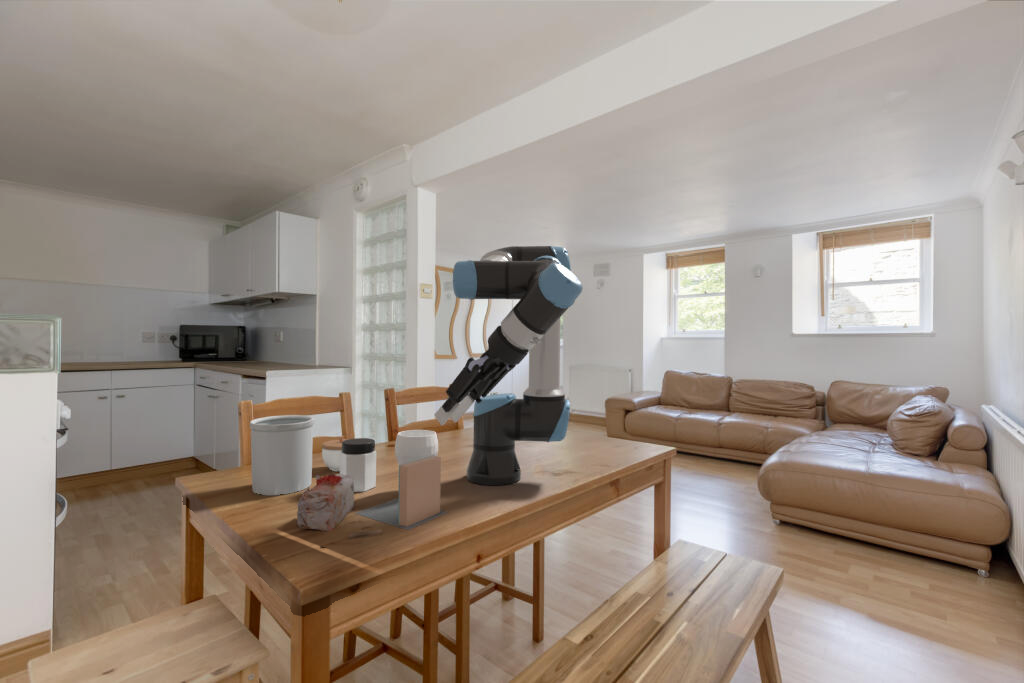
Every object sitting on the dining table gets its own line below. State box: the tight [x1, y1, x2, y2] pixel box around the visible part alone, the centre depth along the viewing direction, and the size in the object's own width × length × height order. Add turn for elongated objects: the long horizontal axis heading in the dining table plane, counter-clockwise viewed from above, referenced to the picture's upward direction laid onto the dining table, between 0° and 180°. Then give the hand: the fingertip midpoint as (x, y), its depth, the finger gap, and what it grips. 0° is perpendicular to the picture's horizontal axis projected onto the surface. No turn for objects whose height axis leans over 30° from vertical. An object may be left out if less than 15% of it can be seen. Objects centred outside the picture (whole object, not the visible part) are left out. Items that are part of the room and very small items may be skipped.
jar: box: [339, 437, 377, 493], centre depth 121 cm, size 9×8×12 cm
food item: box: [296, 473, 355, 532], centre depth 98 cm, size 14×8×10 cm, turn 1°
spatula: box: [319, 528, 383, 550], centre depth 89 cm, size 11×4×1 cm, turn 113°
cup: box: [394, 429, 439, 466], centre depth 117 cm, size 11×11×15 cm
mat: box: [354, 498, 449, 531], centre depth 102 cm, size 16×12×1 cm
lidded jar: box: [321, 436, 349, 472], centre depth 139 cm, size 11×11×9 cm
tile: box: [397, 455, 442, 527], centre depth 99 cm, size 2×10×12 cm, turn 147°
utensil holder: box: [249, 414, 315, 496], centre depth 121 cm, size 15×15×18 cm
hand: (445, 418), depth 96 cm, fingers open, 3 cm apart
